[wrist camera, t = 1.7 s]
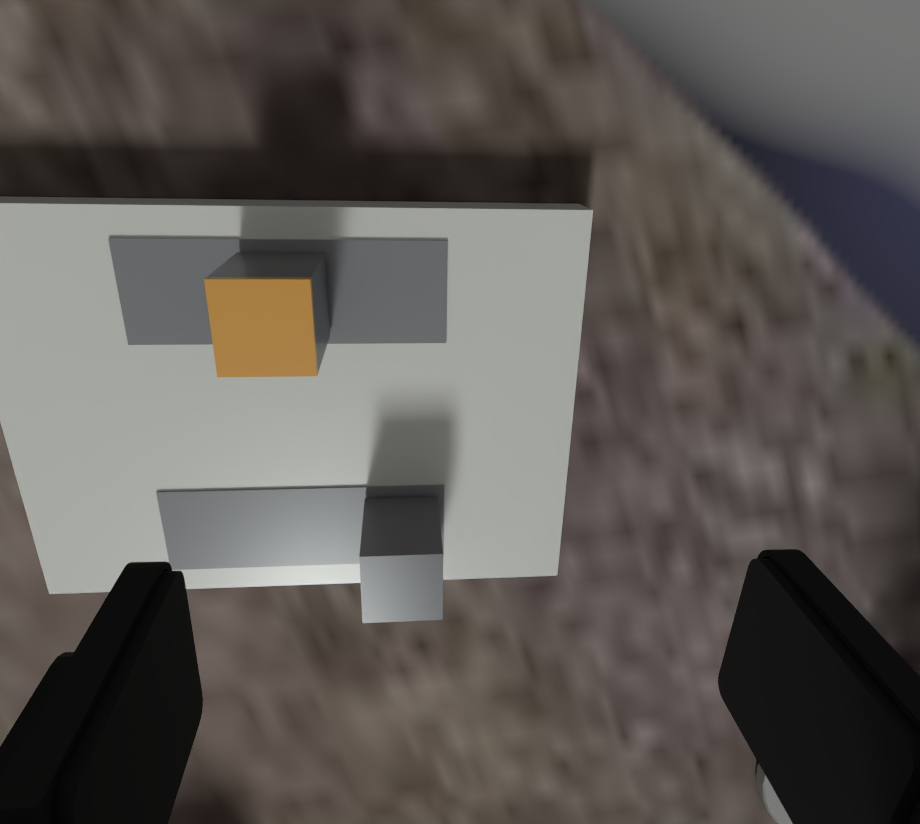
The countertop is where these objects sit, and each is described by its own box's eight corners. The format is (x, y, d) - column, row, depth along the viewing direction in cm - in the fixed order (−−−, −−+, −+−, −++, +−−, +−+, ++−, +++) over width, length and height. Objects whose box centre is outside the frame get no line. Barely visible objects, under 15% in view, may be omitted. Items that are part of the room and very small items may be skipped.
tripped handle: (325, 252, 23) (310, 279, 19) (330, 335, 24) (317, 376, 20) (237, 251, 23) (204, 279, 19) (247, 335, 24) (216, 377, 20)
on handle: (437, 496, 27) (443, 553, 24) (436, 556, 29) (442, 619, 25) (364, 498, 27) (359, 557, 24) (367, 558, 28) (362, 623, 25)
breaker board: (579, 203, 25) (593, 210, 24) (547, 549, 32) (557, 576, 30) (-27, 196, 24) (-64, 202, 22) (70, 565, 30) (48, 595, 28)
